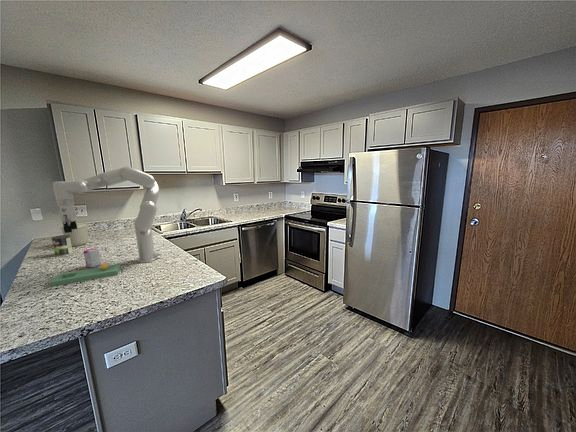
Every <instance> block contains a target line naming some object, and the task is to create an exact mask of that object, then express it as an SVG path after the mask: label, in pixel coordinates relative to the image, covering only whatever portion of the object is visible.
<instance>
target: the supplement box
mask: <svg viewBox="0 0 576 432" xmlns="http://www.w3.org/2000/svg"><path fill="white" fill-rule="evenodd" d="M83 255H84V260H85V261H84V262H85V266H86V267H85V268H87V269H93V268H98V267H100V265H101V264H102V262H101V254H100V249H99V248H90V249H85V250H83Z"/></svg>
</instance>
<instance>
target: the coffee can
mask: <svg viewBox="0 0 576 432" xmlns="http://www.w3.org/2000/svg"><path fill="white" fill-rule="evenodd" d="M50 239H51V242H52V243H51V244H52V246H53V253H54V257H56V258H57V257H58V258H59V257H66V256H70V255H73V254H74V251H73V246H72V245H71V240H70V235H57V236H53V237H51V238H50Z"/></svg>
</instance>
